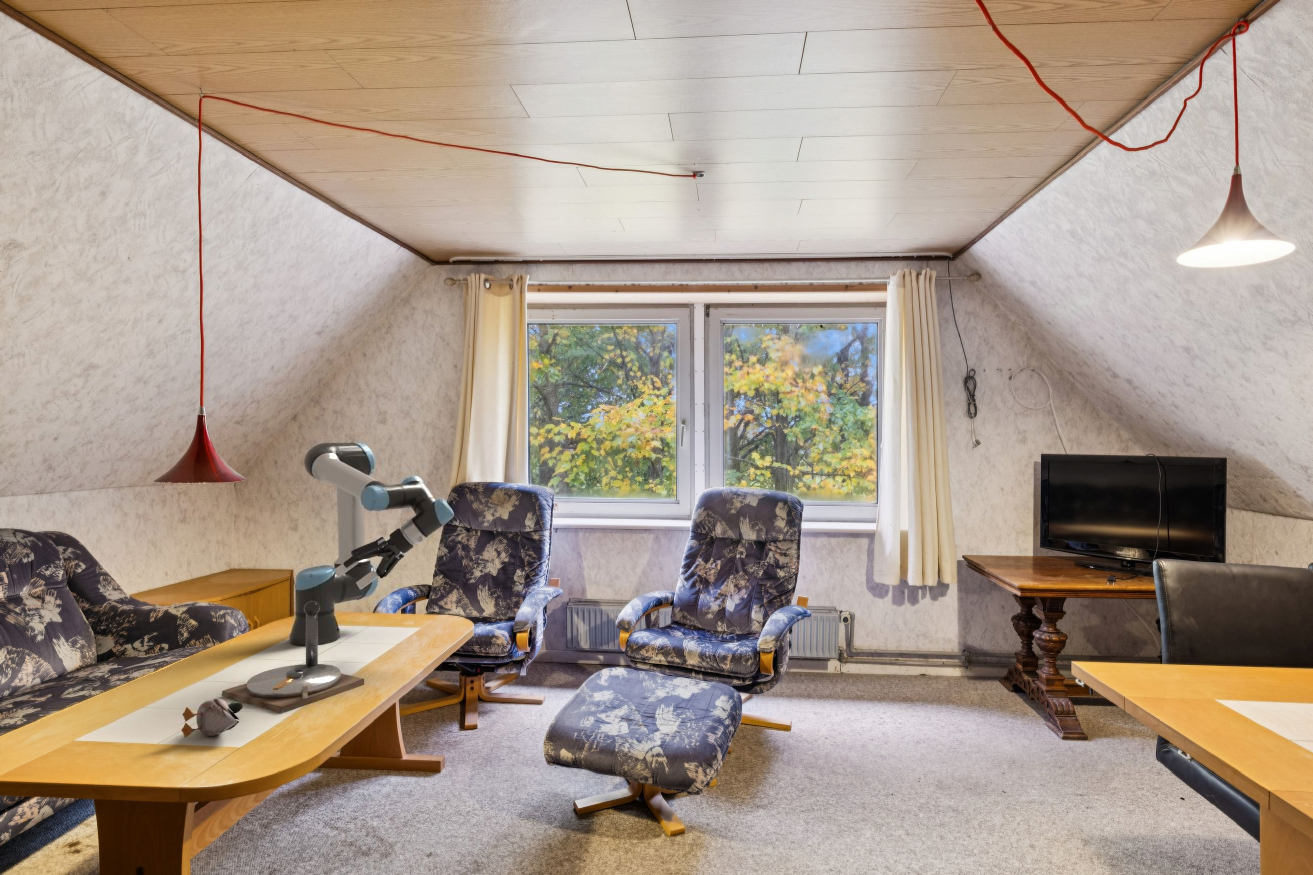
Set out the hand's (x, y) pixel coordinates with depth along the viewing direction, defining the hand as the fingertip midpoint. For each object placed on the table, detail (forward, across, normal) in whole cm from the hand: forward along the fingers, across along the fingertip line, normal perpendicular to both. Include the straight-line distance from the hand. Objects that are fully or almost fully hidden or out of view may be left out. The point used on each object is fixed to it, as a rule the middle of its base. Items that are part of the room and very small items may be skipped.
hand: (347, 580), depth 225 cm
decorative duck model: (+28, -41, -38) cm, 62 cm away
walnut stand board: (+20, -16, -27) cm, 38 cm away
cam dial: (+19, -17, -26) cm, 36 cm away
